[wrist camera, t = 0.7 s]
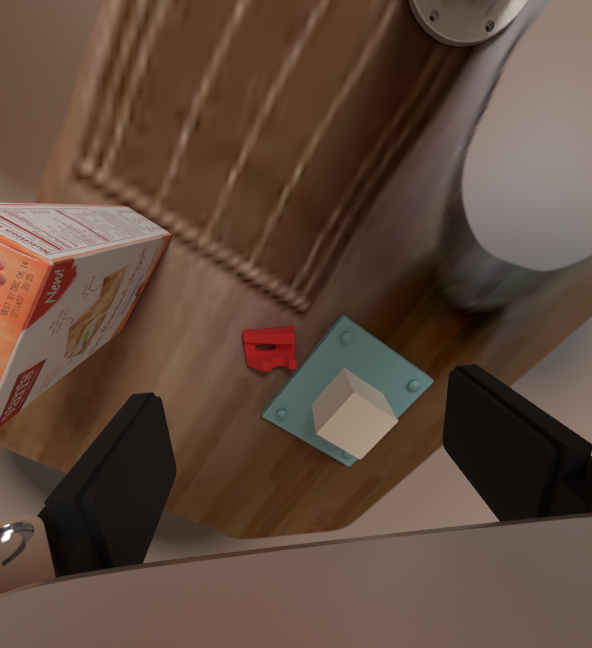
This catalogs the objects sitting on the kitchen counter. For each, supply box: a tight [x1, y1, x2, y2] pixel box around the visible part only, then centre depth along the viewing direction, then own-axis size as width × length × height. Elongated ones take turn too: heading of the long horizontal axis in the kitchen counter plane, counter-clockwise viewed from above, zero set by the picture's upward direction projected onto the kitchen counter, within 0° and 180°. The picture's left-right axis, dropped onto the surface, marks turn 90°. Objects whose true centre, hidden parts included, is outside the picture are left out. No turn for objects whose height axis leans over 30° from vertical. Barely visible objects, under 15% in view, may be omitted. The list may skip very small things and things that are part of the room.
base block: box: [311, 368, 398, 460], centre depth 40 cm, size 7×7×6 cm
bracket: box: [243, 326, 297, 372], centre depth 40 cm, size 6×5×3 cm
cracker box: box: [0, 203, 172, 426], centre depth 27 cm, size 14×6×21 cm, turn 146°
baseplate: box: [262, 313, 434, 467], centre depth 43 cm, size 18×16×2 cm
